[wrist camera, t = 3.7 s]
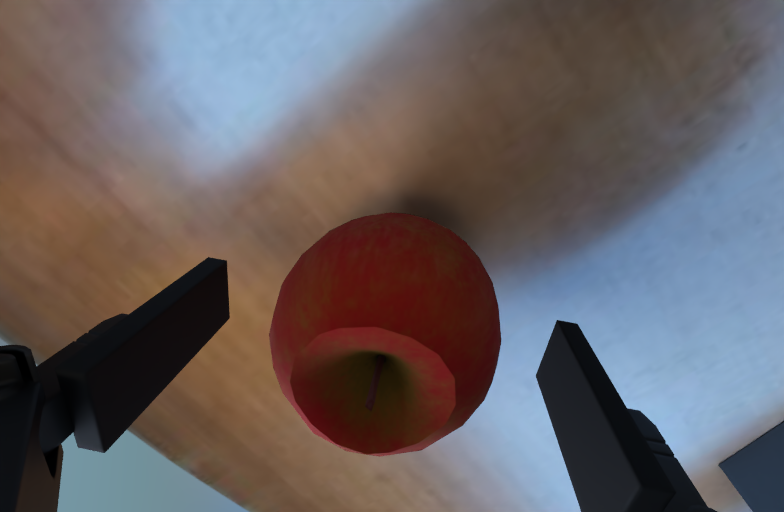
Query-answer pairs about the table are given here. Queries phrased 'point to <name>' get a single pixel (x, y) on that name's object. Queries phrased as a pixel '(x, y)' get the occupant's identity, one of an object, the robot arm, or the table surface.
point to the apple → (386, 334)
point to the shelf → (760, 472)
